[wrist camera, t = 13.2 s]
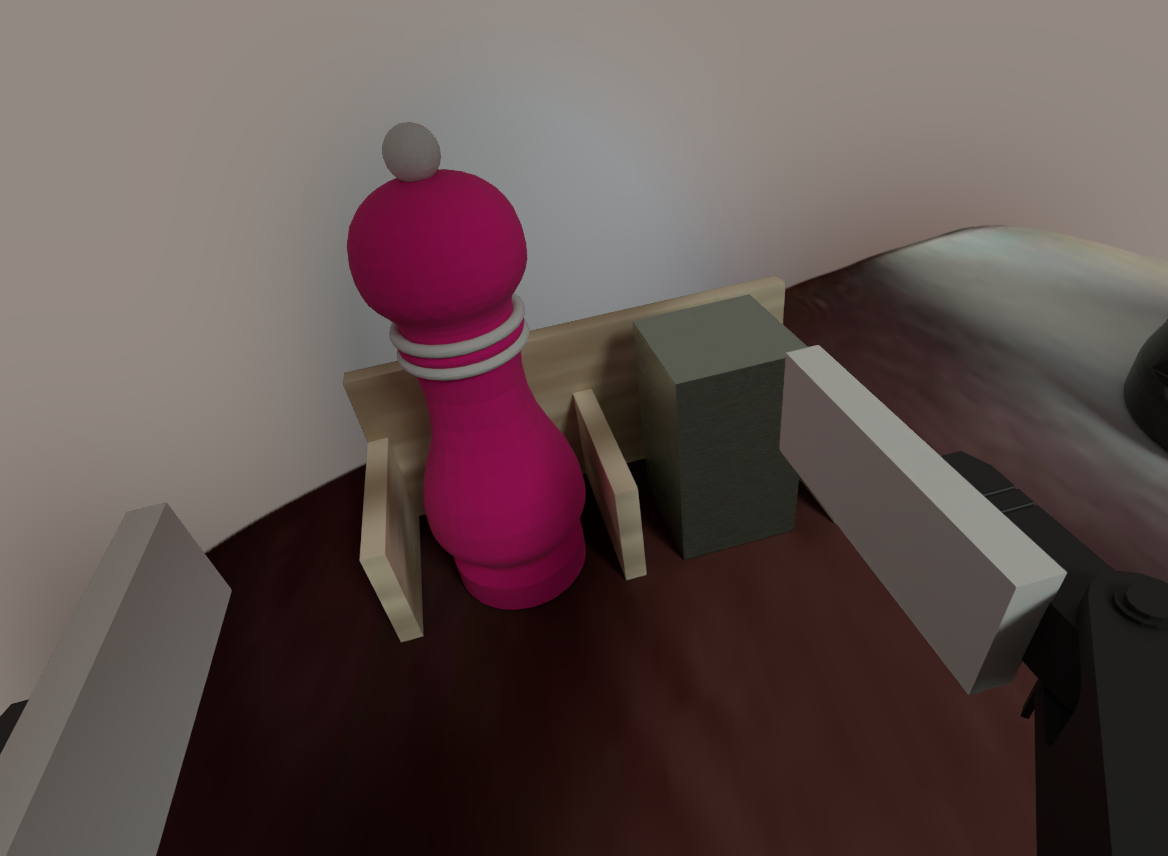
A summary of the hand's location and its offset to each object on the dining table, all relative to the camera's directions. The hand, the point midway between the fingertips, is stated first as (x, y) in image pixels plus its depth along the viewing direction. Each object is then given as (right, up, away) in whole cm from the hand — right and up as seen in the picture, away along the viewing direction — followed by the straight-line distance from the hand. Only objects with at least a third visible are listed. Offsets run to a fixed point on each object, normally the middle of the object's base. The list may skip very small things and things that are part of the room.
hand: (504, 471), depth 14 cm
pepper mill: (-1, -6, +18) cm, 19 cm away
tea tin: (+9, -3, +19) cm, 21 cm away
